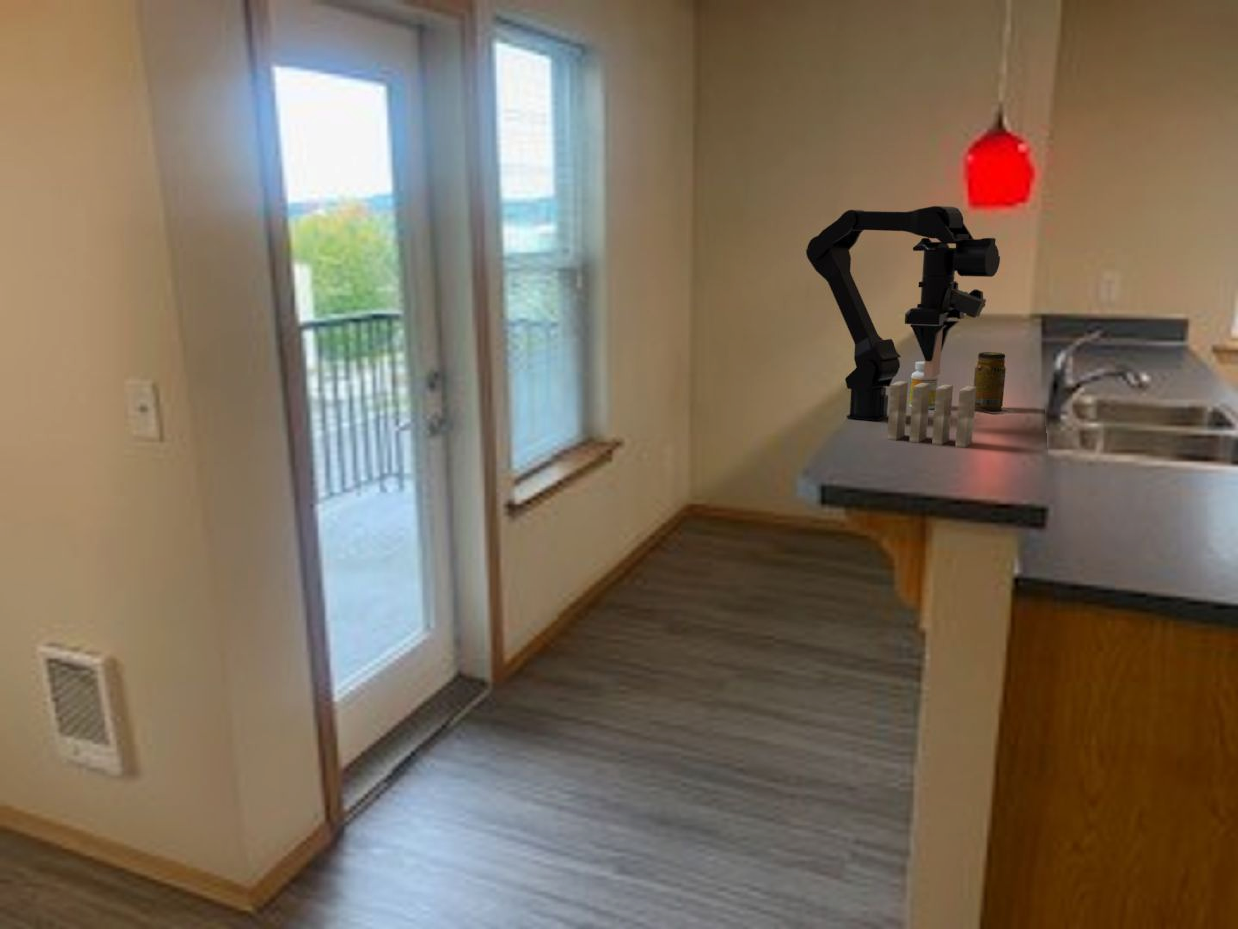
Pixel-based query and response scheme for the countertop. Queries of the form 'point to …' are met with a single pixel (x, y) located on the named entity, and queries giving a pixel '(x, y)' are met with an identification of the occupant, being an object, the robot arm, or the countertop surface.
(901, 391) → the domino
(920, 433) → the domino
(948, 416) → the domino
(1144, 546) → the countertop surface
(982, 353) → the condiment
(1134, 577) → the countertop surface
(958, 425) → the domino
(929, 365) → the domino
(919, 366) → the supplement bottle
